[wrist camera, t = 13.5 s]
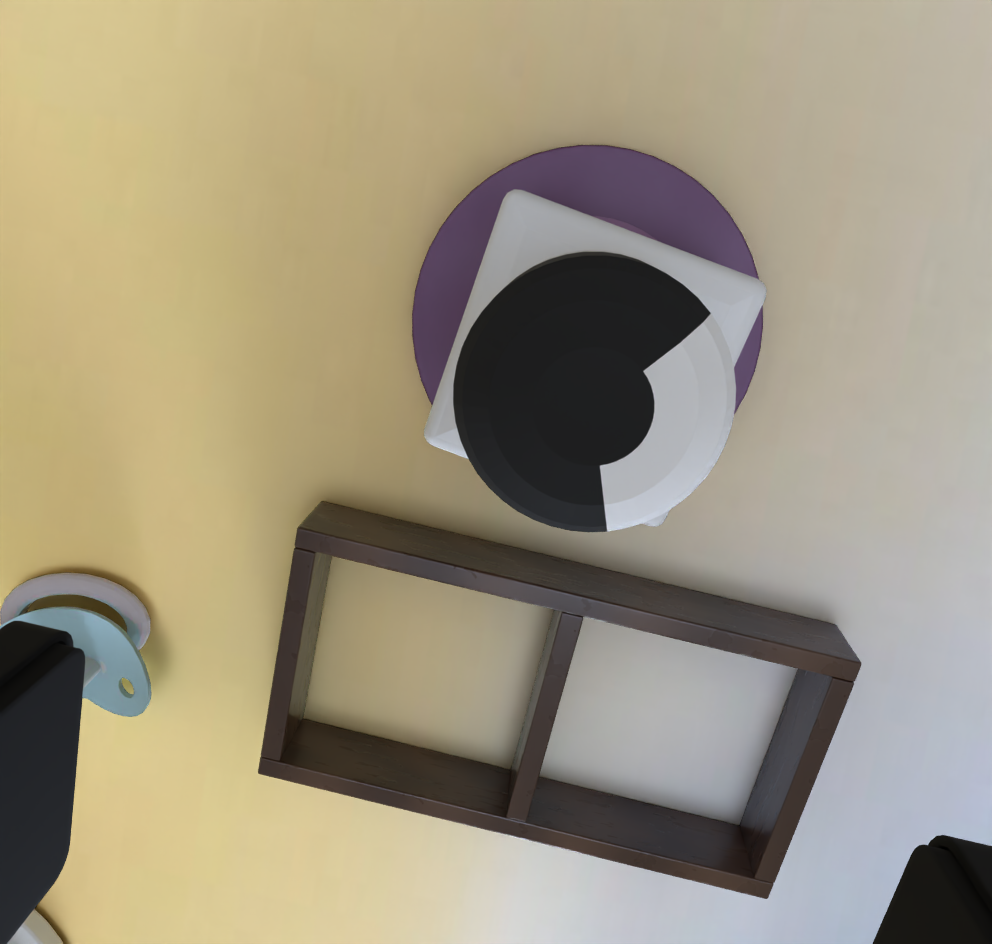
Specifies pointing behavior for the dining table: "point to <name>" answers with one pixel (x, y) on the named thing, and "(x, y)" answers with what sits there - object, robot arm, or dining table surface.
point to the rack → (520, 791)
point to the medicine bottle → (592, 368)
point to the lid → (593, 191)
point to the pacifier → (93, 635)
